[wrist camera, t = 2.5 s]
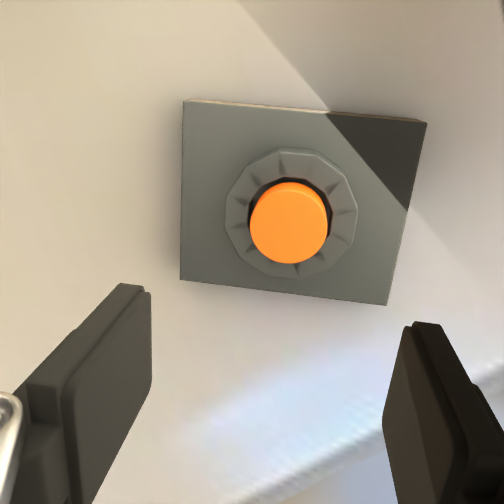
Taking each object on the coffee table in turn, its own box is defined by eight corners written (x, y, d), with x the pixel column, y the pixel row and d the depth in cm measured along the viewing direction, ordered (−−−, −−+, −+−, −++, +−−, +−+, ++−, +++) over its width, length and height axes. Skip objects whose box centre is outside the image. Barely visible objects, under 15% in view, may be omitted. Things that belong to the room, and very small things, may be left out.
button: (330, 185, 21) (332, 194, 19) (320, 254, 22) (321, 268, 21) (257, 178, 21) (252, 185, 20) (251, 246, 23) (247, 259, 21)
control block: (417, 119, 23) (438, 126, 19) (380, 289, 26) (392, 322, 23) (193, 98, 24) (172, 101, 20) (189, 265, 28) (170, 293, 24)
